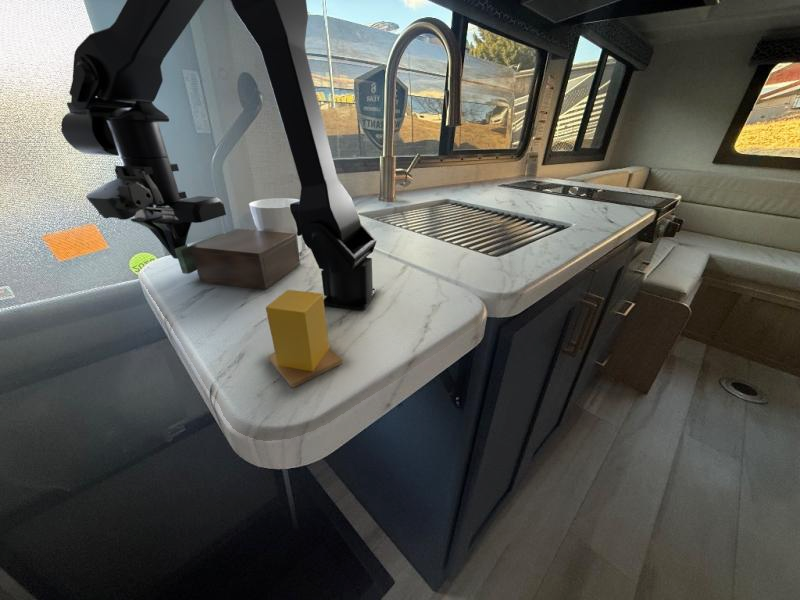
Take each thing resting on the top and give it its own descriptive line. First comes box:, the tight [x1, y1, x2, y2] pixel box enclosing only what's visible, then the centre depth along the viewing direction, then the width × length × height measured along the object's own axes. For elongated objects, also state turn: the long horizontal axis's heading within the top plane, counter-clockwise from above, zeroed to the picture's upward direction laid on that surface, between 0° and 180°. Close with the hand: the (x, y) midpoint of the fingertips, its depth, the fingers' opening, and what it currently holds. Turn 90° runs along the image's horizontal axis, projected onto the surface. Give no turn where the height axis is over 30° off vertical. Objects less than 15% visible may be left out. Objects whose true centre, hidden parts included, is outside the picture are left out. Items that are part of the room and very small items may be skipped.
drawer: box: [175, 232, 225, 275], centre depth 55 cm, size 12×10×4 cm
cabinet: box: [190, 228, 301, 291], centre depth 54 cm, size 12×11×6 cm
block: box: [265, 289, 330, 371], centre depth 32 cm, size 4×4×7 cm
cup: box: [248, 197, 306, 254], centre depth 64 cm, size 10×10×10 cm
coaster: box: [267, 347, 343, 389], centre depth 34 cm, size 6×6×1 cm
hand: (178, 258), depth 53 cm, fingers closed
